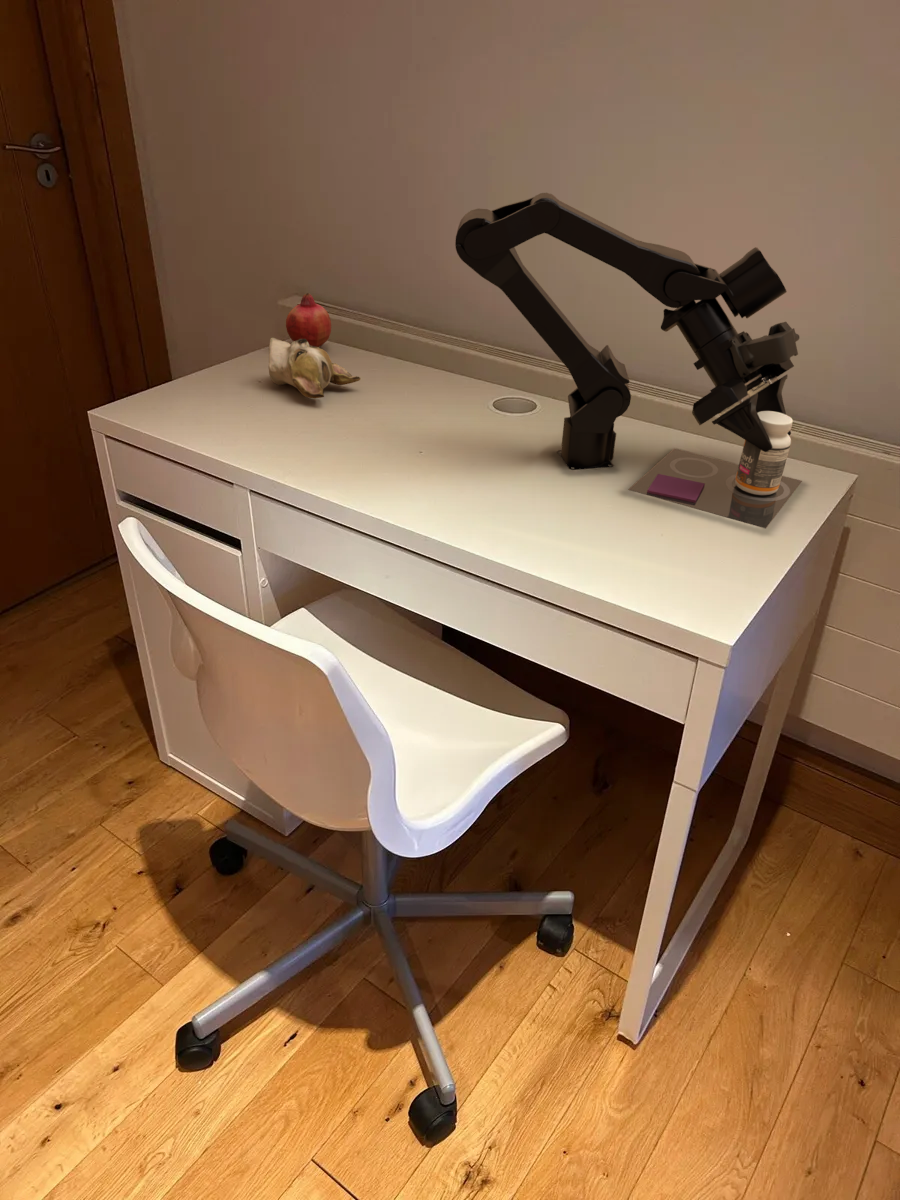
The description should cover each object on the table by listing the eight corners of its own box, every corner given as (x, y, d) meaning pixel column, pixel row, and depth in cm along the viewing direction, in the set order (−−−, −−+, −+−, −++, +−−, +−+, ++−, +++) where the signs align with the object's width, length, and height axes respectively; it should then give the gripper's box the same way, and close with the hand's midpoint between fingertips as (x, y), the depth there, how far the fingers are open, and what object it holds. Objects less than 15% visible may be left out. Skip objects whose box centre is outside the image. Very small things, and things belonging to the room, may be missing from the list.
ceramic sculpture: (292, 320, 155) (363, 343, 149) (294, 369, 160) (362, 394, 154) (247, 336, 148) (319, 361, 141) (250, 388, 153) (320, 414, 146)
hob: (764, 532, 116) (765, 528, 116) (627, 493, 124) (627, 489, 124) (801, 484, 128) (802, 480, 127) (673, 451, 136) (674, 447, 136)
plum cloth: (695, 503, 121) (695, 500, 121) (646, 492, 123) (647, 490, 123) (704, 486, 125) (705, 483, 125) (657, 476, 127) (657, 473, 127)
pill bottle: (728, 477, 127) (745, 408, 122) (769, 479, 128) (787, 409, 122) (742, 496, 122) (759, 424, 117) (784, 497, 123) (804, 426, 118)
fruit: (342, 349, 171) (339, 293, 165) (309, 359, 165) (306, 302, 160) (311, 339, 175) (308, 285, 170) (278, 349, 170) (274, 293, 164)
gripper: (733, 319, 108) (804, 433, 108) (794, 290, 121) (858, 392, 121) (662, 370, 117) (728, 476, 117) (726, 338, 129) (786, 434, 129)
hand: (778, 443), depth 121 cm, fingers closed on pill bottle, 6 cm apart
